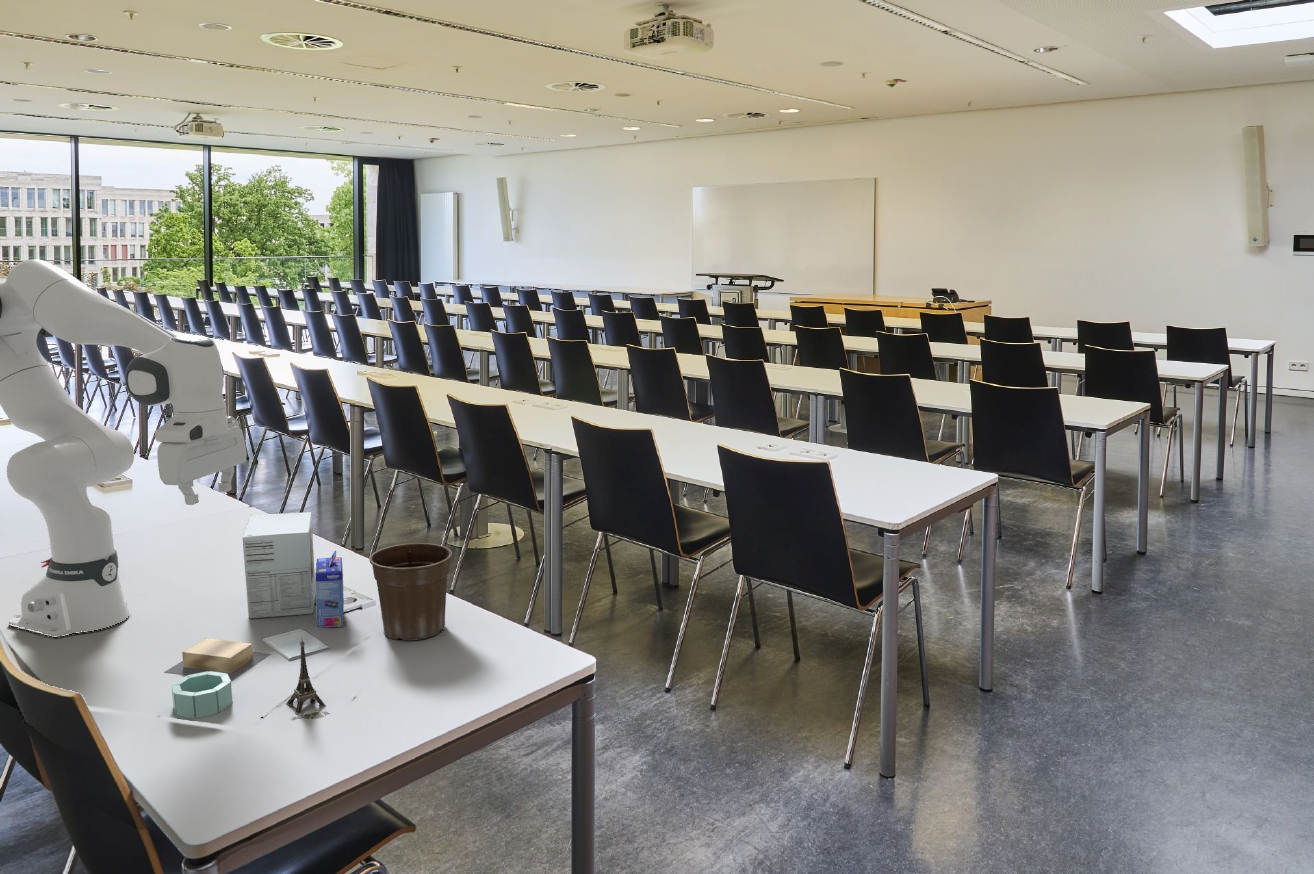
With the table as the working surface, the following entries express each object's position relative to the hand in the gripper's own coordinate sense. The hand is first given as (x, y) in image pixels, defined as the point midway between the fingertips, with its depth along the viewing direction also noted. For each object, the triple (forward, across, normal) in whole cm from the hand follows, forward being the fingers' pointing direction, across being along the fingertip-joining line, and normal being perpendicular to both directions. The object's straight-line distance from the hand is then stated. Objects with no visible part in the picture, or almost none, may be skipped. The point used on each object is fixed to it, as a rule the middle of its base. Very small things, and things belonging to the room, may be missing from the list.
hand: (209, 497), depth 184 cm
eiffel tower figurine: (+32, +16, +26) cm, 45 cm away
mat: (+31, +5, +2) cm, 32 cm away
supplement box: (+31, -26, -4) cm, 41 cm away
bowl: (+31, +20, +10) cm, 39 cm away
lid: (+30, +5, +2) cm, 31 cm away
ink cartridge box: (+31, -20, +11) cm, 39 cm away
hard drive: (+32, -6, +11) cm, 34 cm away
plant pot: (+32, -20, +30) cm, 48 cm away
